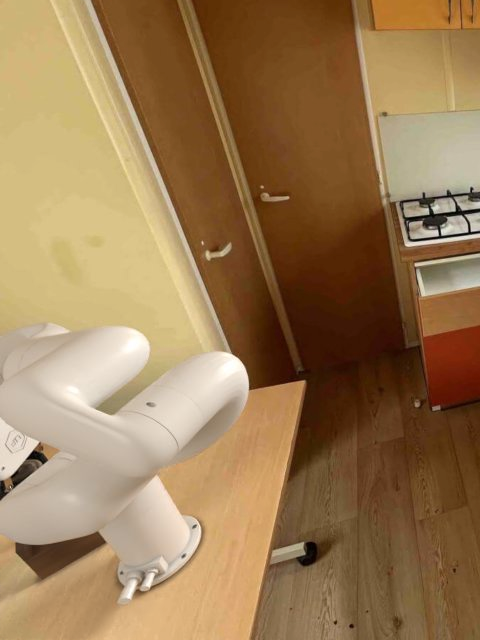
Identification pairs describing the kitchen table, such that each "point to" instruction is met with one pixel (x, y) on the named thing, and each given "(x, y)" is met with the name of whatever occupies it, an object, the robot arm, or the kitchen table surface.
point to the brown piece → (57, 553)
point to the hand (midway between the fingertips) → (29, 485)
